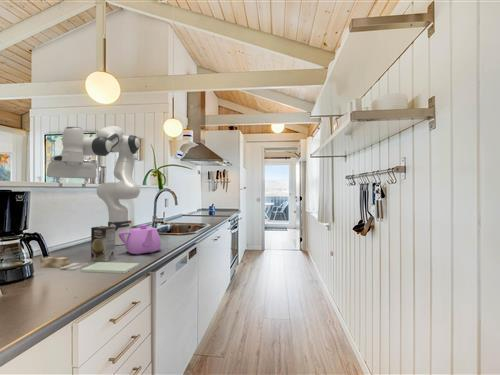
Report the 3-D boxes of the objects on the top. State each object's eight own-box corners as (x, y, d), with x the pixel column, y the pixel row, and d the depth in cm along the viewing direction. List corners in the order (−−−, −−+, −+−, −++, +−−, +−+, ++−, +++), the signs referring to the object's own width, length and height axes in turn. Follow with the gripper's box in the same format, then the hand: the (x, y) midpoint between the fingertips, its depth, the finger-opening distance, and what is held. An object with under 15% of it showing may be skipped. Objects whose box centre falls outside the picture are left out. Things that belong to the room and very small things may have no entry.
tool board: (98, 264, 121) (98, 262, 121) (139, 265, 119) (139, 263, 119) (80, 271, 110) (80, 269, 110) (125, 273, 108) (125, 270, 108)
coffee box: (90, 260, 127) (90, 227, 127) (101, 257, 133) (101, 225, 133) (105, 262, 124) (105, 228, 124) (115, 258, 130) (115, 226, 130)
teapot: (115, 252, 144) (115, 224, 144) (154, 246, 157) (154, 221, 157) (124, 261, 126) (124, 230, 126) (167, 254, 138) (168, 226, 138)
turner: (34, 269, 114) (34, 260, 114) (50, 263, 122) (50, 255, 122) (74, 270, 112) (74, 261, 112) (88, 265, 120) (88, 256, 120)
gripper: (96, 161, 137) (96, 187, 136) (47, 158, 125) (46, 187, 124) (98, 160, 131) (97, 187, 131) (46, 156, 119) (45, 186, 119)
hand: (72, 187), depth 127 cm, fingers open, 8 cm apart
